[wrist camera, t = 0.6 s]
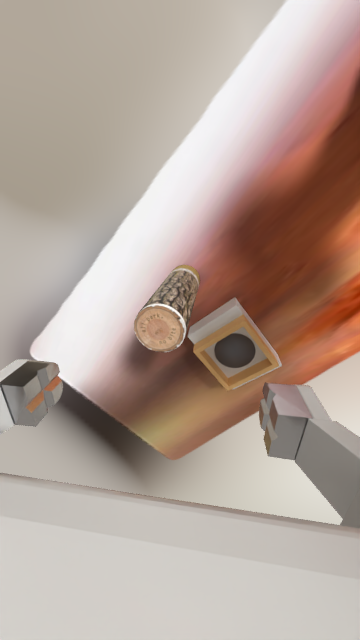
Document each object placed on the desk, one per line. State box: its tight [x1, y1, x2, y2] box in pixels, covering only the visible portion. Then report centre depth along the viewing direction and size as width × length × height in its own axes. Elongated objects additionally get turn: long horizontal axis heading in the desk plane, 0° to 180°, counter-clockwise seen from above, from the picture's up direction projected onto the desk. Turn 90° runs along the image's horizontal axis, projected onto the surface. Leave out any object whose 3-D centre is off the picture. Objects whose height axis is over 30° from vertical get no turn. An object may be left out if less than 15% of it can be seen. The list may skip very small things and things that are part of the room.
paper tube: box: [134, 265, 200, 352], centre depth 41 cm, size 7×7×25 cm
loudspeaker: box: [188, 297, 282, 391], centre depth 53 cm, size 13×18×8 cm
